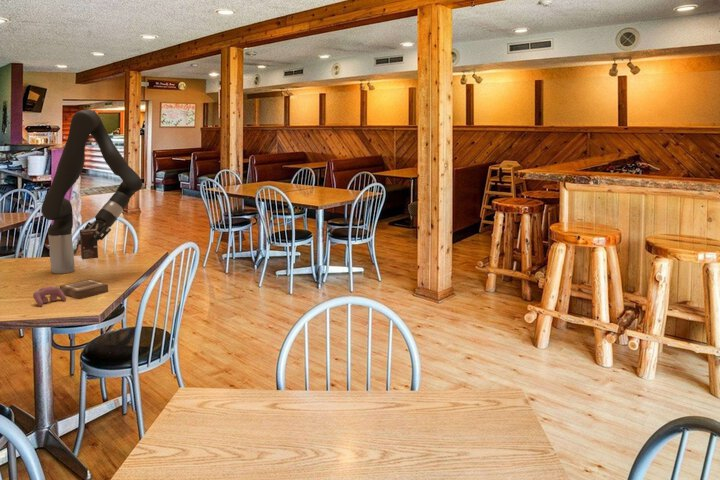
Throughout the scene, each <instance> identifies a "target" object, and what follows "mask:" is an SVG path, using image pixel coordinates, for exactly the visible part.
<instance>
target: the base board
mask: <svg viewBox="0 0 720 480" xmlns="http://www.w3.org/2000/svg"><path fill="white" fill-rule="evenodd" d="M59 288H60V289H61V290H62V292H63V293H64V295H65V296H68V297H71V298H75V299H78V300H80V299H84V298H89V297H92V296H95V295H96V296H97V295H102V294H105V293H109V285H108V284H107V283H104V282H100V281H97V280H94V279H88V278H87V279H84V280H79V281H75V282H70V283H67V284H62V285H59Z"/></svg>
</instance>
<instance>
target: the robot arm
mask: <svg viewBox="0 0 720 480" xmlns="http://www.w3.org/2000/svg"><path fill="white" fill-rule="evenodd" d="M90 135H91V137H92V138H93V139H94V140H95V142H96V143H97V145H98V149H99V150H100V152H101V155H102V158H103V160H104V161H105V163H106V165H107V166H108V167H109V169H110V170H111V171H112V173H113V174H114V175H115V176H118V177H119V178H120V179H121V180H122V181H121V182H120V184H119V186H118V188H117V189H116V191H115V192H114V193H113V194H112V196H111V197H110V198H109V199H108V200H107V201H106V202H105V203H104V205H103V206H102V207H101V209H100V210H99V211H98V212H97V214H96V215H95V216H94V218H95V220H94V222H92V223H91V222H90V221H89V222H87V223H86V225H85V227H84V228H83V230H85V229H95V230H96V231H95V234H94V236H93V237H94V238H91V240H90V241H89V242H88V244H87V245H88V246H89V247H93V245H94V244H95V243H96V242H97V243H98V241H103V240H104V239H105V238H106V237H107V235H108V234H109V233H110V232H111V231H112V229H111V227H112V226H113V225H114V224H115V222H116V221H117V220H118V218H119V217H120V216H121V215H122V213H123V211H124V210H125V208H126V207H127V206H128V204H129V203H130V199H131V198H132V197H133V195H134V194H135V193H136V192H138V191H139V192H140V190H141V189H142V188H143V180H142V179H141V177H140V176H139V174H137V172H136V171H135V170H134V169H133V168H132V167H131V166H129V164H128V162H127V161H126V160H125V158H124V157H123V155H122V154H121V152H120V151H119V150H118V148H117V147H116V145H115V143H114V142H113V140H112V138H111V136H110V135H109V133H108V131H107V129H106V127H105V124H104V123H103V121H102V119H101V117H100V115H99V113H97V112H96V111H94V110H91V109H82V110H78V111H76V112H74V114H73V115H72V118H71V121H70V125H69V130H68V135H67V139H66V142H65V144H64V147H63V149H62V153H61V156H60V158H59V161H58V164H57V167H56V171H55V173H54V177H53V178H52V181H51V185H50V187H49V189H48V192H47V194H46V196H45V198H44V199H43V202H42V204H41V214H42V216H43V217H44V219H46V220H49V221H53V223H52V224H51V225H50V227H48V228H47V236H48V237H47V238H48V246H49V259H50V260H49V261H50V269H51V270H50V272H51V273H52V274H56V275H57V274H58V275H59V274H67V273H73V272H75V271H76V269H75V267H76V266H75V255H74V246H73V245H74V244H73V243H74V242H73V236H72V234H73V233H72V229H73V227H74V215H73V214H74V212H73V205H72V203H71V202H70V200H69V199H68V198H65V197H66V195H67V193H68V192H69V190H70V189H71V188H72V187H73V186H74V185H75V183H76V182H77V181H78V180H79V178H80V176H81V173H82V172H83V171H82V170H83V169H84V165H85V158H86V157H85V154H86V153H85V149H86V144H87V142H88V138H89V137H90ZM77 243H78V245H80V239H79V241H77Z"/></svg>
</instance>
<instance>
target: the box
mask: <svg viewBox="0 0 720 480" xmlns="http://www.w3.org/2000/svg"><path fill="white" fill-rule="evenodd" d="M95 231H96V230H95V229H85V230H84V229H79V240H80V244H79V245H80V256H81V257H80V258H81V259H82V260H89V259H99V250H98V249H99V248H98V241H97V242H96V243H95V244H94V245H93V247H89V246H88V245H87V244H88V242H89V241H90V240H91V238H94V237H93V236H94V234H95Z"/></svg>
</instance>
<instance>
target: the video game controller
mask: <svg viewBox="0 0 720 480" xmlns="http://www.w3.org/2000/svg"><path fill="white" fill-rule="evenodd" d="M47 296H49V298H48V297H47ZM66 297H67V296H66V295H64V293H63V292H62V290H61V289H60V287H58V286H56V285H55V286H45V287H42V288H39V289H36V291H34V292H33V294H32V298H33V299H34V300H35V303H36V304H37V305H38V306H39V307H43V305H44V304H46V303H47V302H49V301H50V302H55V301H57V299H58V298H59V299H60V300H61V301H62V302H63V301H64V302H65V301H66V299H67V298H66Z"/></svg>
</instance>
